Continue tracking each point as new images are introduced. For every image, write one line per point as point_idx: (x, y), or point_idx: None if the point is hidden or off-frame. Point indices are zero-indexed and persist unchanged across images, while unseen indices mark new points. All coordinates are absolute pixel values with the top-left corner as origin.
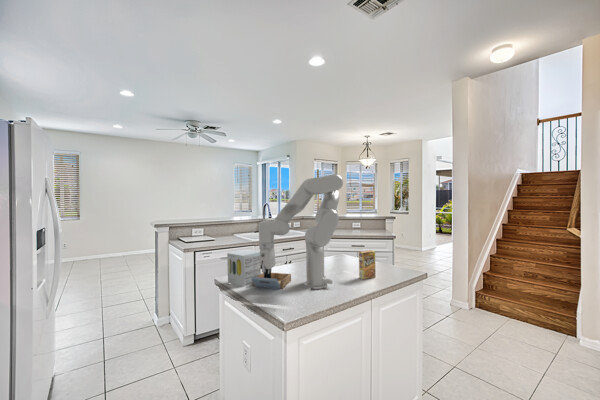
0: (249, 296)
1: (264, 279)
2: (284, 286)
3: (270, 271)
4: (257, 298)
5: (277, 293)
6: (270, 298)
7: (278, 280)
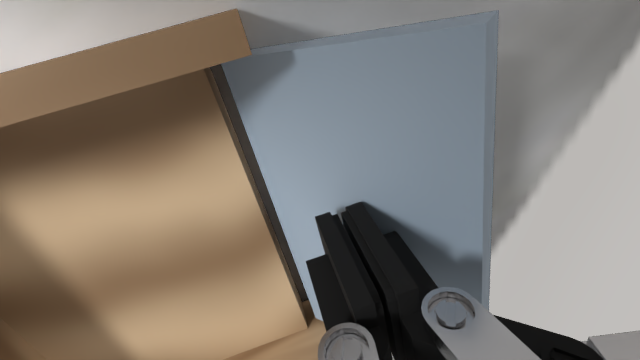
0: (495, 207)
1: (489, 243)
2: (153, 31)
3: (374, 356)
4: (523, 123)
5: (338, 26)
6: (501, 2)
7: (21, 267)
